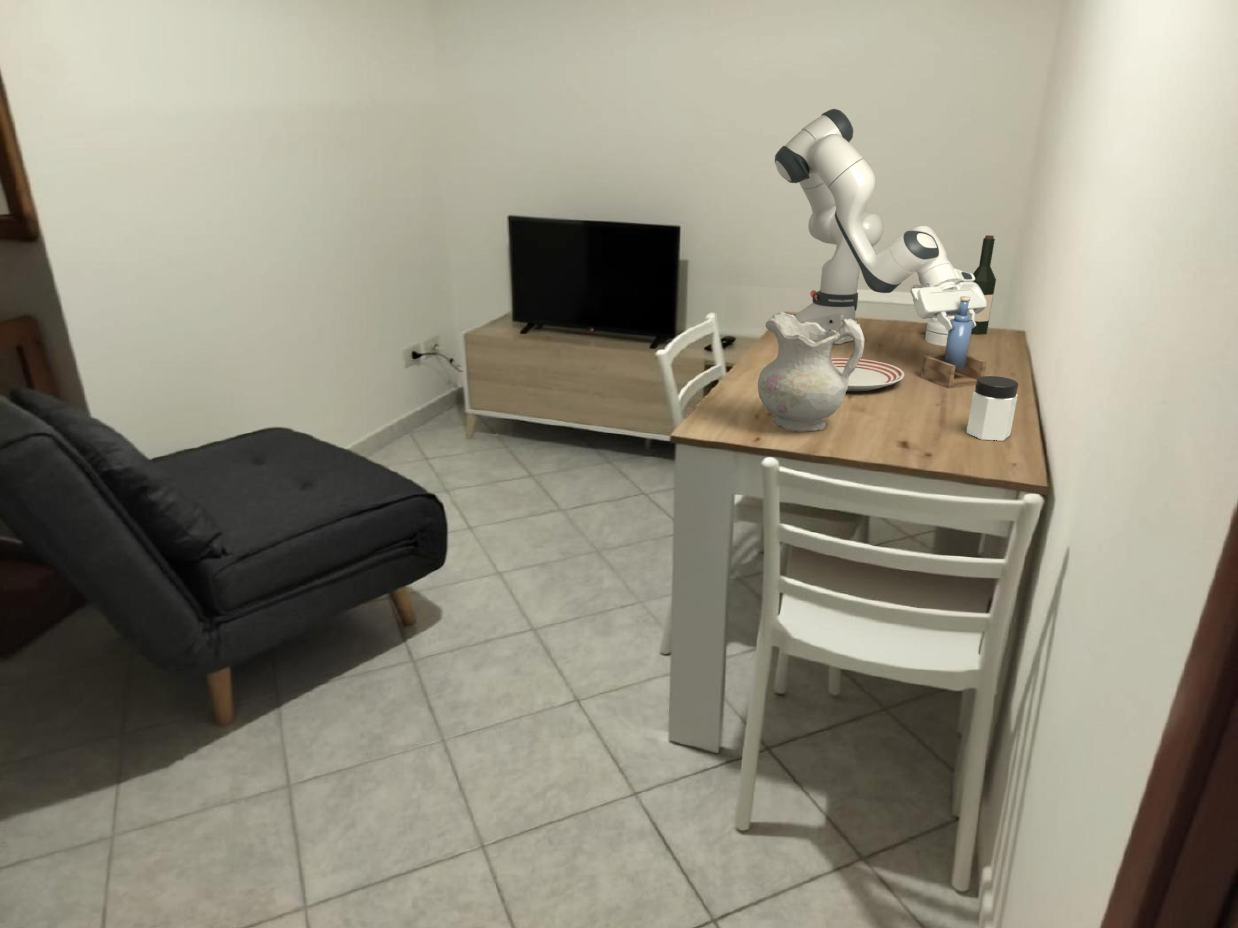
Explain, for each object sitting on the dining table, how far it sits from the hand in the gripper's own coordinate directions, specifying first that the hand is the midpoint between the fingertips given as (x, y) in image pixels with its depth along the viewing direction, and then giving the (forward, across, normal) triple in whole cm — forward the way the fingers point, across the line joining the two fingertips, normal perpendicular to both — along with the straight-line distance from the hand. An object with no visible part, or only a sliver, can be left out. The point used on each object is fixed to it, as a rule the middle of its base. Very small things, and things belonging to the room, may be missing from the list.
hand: (961, 328), depth 211 cm
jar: (+34, -21, -14) cm, 42 cm away
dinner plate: (+3, -25, +18) cm, 31 cm away
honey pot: (-14, +29, +34) cm, 48 cm away
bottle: (+7, 0, +8) cm, 10 cm away
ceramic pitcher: (+20, -54, +1) cm, 58 cm away
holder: (+9, 0, +11) cm, 14 cm away
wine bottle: (-20, +46, +39) cm, 64 cm away
